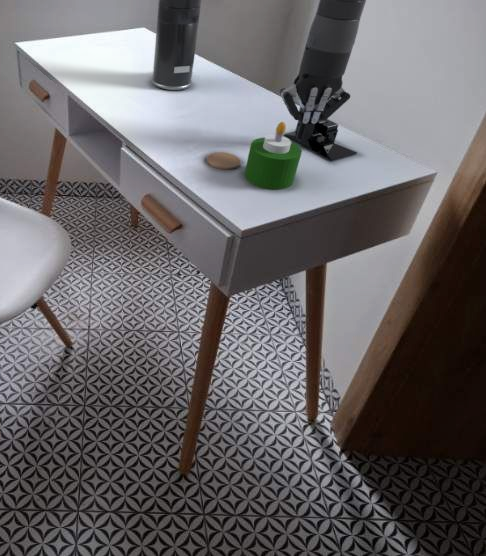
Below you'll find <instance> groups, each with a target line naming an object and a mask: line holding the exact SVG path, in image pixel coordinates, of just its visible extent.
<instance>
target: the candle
mask: <svg viewBox="0 0 486 556" xmlns="http://www.w3.org/2000/svg"><path fill="white" fill-rule="evenodd" d="M286 129H287V126H286V123H285V122H284V121H280V122H279V123H278V124H277V126H276V128H275V134H270V135H266V136H265V137H258V138H256V139H254V140H252V141H251V143H250V147H249V152H248V157H247V161H246V165H245V169H244V170H245V171H244V178H245V180H247V182H249V183H250V184H252V185H254V186H256V187H258V188H262V189H265V190H274V191H275V190H276V191H277V190H284V189H288V188H290V187H292V186H293V184H294V181H295V177H296V174H297V170H298V167H299V163H300V160H301V157H302V153H303V152H302V148H301V147H300V145H299V144H297V143H296V142H294V141H292V140H290V139H288V138H286V137H285V136H284V134H285V132H286Z"/></svg>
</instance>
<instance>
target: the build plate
mask: <svg viewBox="0 0 486 556" xmlns="http://www.w3.org/2000/svg"><path fill="white" fill-rule="evenodd" d="M338 127H339V123H337V122H334V121H333V120H331V119H329V118H328V119H326V120H320V121H318V122H317V123H316V124H315V127H314V130H313V133H312V136H311V138H310V139H308V141H307V142H299V141H298V140H297V138H296V136H295V131H291V132H287V133H283V137H286V138H288V139H289V140H290V141H291V142H293V143H295V144H297V145H298V146H301V147H303V148H305V149H307V150H309V151H310V152H312V153H314V154H316V155H318V156H319V157H321V158H323V159H325V160H327V161H329V162H332V163H333V162H335V161H339V160H343V159H345V158H348V157H352V156H355V155H358V152H357V151H355V150H353V149H351V148H349V147H348V146H345V145H343V144H342V143H339V142H338V141H336V139H337V135H338V132H339V129H338Z"/></svg>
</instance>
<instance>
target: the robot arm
mask: <svg viewBox="0 0 486 556" xmlns="http://www.w3.org/2000/svg"><path fill="white" fill-rule="evenodd" d="M366 2H367V0H318V5H317V8H316V10H315V11H316V12H315V14H314V17H313V20H312V22H311V25H310V28H309V32H308V35H307V39H306V43H305V46H304V51H303V54H302V58H301V61H300V66H299V71H298V72H299V73H298V74H297V75H296V78H295V79H294V81H293V84H291V85H290V86H289V87H287V88H281V89H280V90H279V95H280V97H281V99H282V101H283V103H284V105H285V106H286V109H287V111H288V112H289V115H290V116H291V117H292V118H293V119H294V120H295V121H297V122H296V123H297V124H296V127H295V131H294V132H295V136H296V138H297V140H298V141H299V142H307V141H308V139H310V138H311V136H312V133H313V130H314V127H315V124H316V123H317V122H318V121H320V120H326V119H328V120H329V118H330V117H331V116H332V115H333V114H335V113H336V111H338V110H340V108H341V107H342V106H343V105H345V104H346V103H347V101H349V100H350V98H351V94H350V93H349V92H348V91H347V90H345V89H344V88H343V76H344V75H345V73H346V70H347V67H348V63H349V61H350V58H351V54H352V51H353V48H354V45H355V43H356V39H357V36H358V32H359V26H360V21H361V18H362V15H363V12H364V8H365V6H366ZM201 5H202V0H158V4H157V16H156V17H157V18H156V19H157V20H156V29H155V31H156V32H155V41H154V42H155V44H154V46H155V47H154V55H153V56H154V57H153V66H152V67H153V68H152V69H153V70H152V77H151V83H152V85H153V86H155V87H156V88H159V89H163V90H168V91H184V90H186V89H189V88H190V87H191V86H192V78H193V72H194V71H193V70H194V64H195V63H194V61H195V54H196V47H197V38H198V30H199V22H200V14H201V7H202V6H201ZM296 94H297V95H296ZM297 96H298V98H299V104H298V105H299V109H298V107H297V104H296V103H295V101H294V100H295V99H296V97H297Z"/></svg>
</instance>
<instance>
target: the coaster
mask: <svg viewBox="0 0 486 556" xmlns="http://www.w3.org/2000/svg"><path fill="white" fill-rule="evenodd" d="M206 162H207V164H208V165H209V166H211V167H213V168H216V169H219V170H234V169H237V168H238V167H240V166H241V159H240V158H239V157H238V156H237V155H235V154H233V153H229V152H225V151H216V152H212V153H210V154H208V155H207V156H206Z"/></svg>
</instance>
